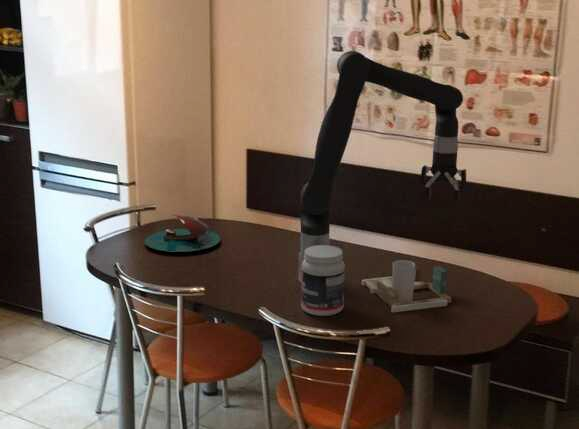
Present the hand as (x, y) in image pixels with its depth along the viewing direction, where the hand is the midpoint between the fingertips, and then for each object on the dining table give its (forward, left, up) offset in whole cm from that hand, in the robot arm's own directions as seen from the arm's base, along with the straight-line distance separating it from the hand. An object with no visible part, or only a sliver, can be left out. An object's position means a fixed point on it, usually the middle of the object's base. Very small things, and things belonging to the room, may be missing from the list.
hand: (441, 199), depth 257 cm
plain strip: (-16, -1, -27) cm, 32 cm away
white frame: (-15, -12, -27) cm, 34 cm away
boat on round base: (-73, +62, -28) cm, 100 cm away
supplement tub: (-44, -12, -28) cm, 54 cm away
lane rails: (-16, -8, -27) cm, 33 cm away
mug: (-17, -12, -28) cm, 35 cm away
